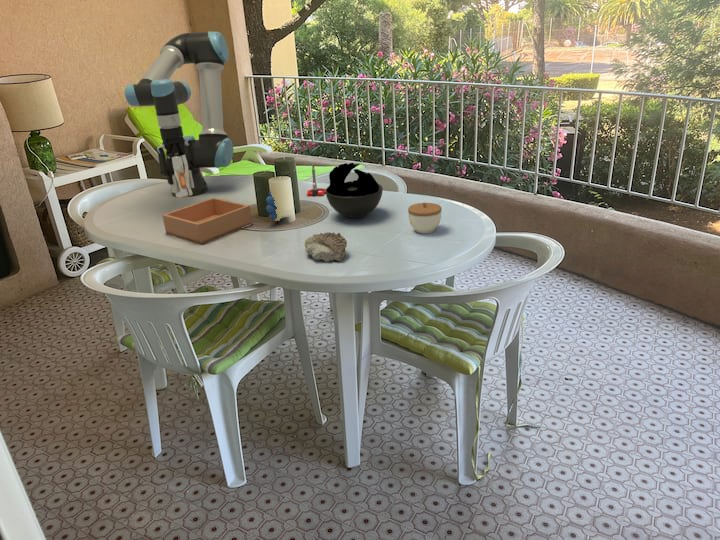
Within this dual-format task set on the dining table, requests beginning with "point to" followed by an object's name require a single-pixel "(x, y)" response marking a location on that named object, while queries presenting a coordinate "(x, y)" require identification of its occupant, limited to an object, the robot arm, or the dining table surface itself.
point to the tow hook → (315, 186)
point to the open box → (207, 220)
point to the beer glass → (181, 175)
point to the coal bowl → (353, 192)
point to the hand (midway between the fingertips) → (183, 189)
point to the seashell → (326, 246)
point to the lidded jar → (424, 217)
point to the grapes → (271, 207)
